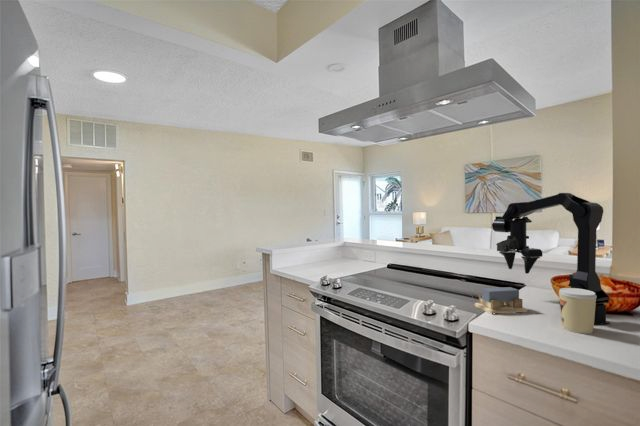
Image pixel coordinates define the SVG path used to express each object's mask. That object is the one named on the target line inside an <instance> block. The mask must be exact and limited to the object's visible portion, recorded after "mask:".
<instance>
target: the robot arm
mask: <svg viewBox="0 0 640 426" xmlns="http://www.w3.org/2000/svg"><path fill="white" fill-rule="evenodd" d="M558 206H561V207H563V208H564V209H565V210H566V211H567V212H569V213H571V214H572V219H573V220H572V221H573V223H574V224H575V226H576V228H577V254H576V255H577V260H576V262H577V263H576V264H577V265H576V271H575V273H572V274H569V275H568V280H569V284H568V287H569V288H578V289H585V290H589V291H592V292H594V293H595V294H596V296H597V298H596V306H595V318H594V326H596V325H608V324H611V322H610V321H608V320H607V305H606V304H608V303H609V302H610V300H611V297H610V296H609V294H607V293H606V291H605V290H604V289H603V288H602V284H601V280H600V277H599V276H598V273H597V272H596V262H597V261H596V260H597V259H596V256H597V229H598V227H599V225H600V224H601V222H602V219H603V215H604V208H603V206H602V205H601V204H599V203H597V202H592V201H589V200H586V199H584V198H582V197H579V196H576V195H574V194H573V193H570V192H559V193H557V194H554V195H551V196H546V197H541V198H539V199H535V200H531V201H523V202H522V201H521V202H510V204H508V206H507V209H506V210H505V212H504V213H503V215H502V216H501V215H500V216H499V215H498V216H497V215H496V216H495V219H494V220H493V221H492V224H491V228H492V230H493V231H494V232H497V233H509V235H507V237H506V239H505V240H502V241H500V242H497V243H496V251H497V252H499V254H501V256H503V257H504V260H505V263H506V264H507V267H508V269H509V270H512V269H513V266H514V263H515V258H516V257H515V256H516V254H517V253H518V254H521V255H522V256H521V258H522V260H523V262H524V265H523V266H524V274H529V273H530V271H531V270H532V268H533V266H534V265H535V263H536V262H537V260H538V259H541V257H543V251H542V249H541V248H534V247H530V246H529V245H527V239H530V236H528V235H527V224H528V223H532V222H533V221H532V220H531V219H529V217H528V216H529V215H532V214H533V213H534V212H537V211H541V210H546V209H550V208H553V207H554V208H555V207H558Z"/></svg>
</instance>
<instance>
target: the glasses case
mask: <svg viewBox="0 0 640 426" xmlns="http://www.w3.org/2000/svg"><path fill="white" fill-rule="evenodd" d="M481 295H482V299H483V300H485V301H487V302H491V300H500V302H505V301H513V299H520V290H519V289H517V288H514V287H511V286H508V287H507V286H506V287H504V286H503V287H489V288H487V287H486V288H485V287H484V288H481Z"/></svg>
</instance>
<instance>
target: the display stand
mask: <svg viewBox="0 0 640 426" xmlns="http://www.w3.org/2000/svg"><path fill="white" fill-rule="evenodd" d="M474 306H475V307H476V308H479V309H481V310H482V311H483V312H486V313H488V312H490V313H506V314H514V313H513V312H522V313H527V312H528V308H526V307H523V298H519V299H513V301H505V302H500V300H491V302H487V301H485V300H483V299H482V294H478V302H474ZM490 313H489V314H490Z"/></svg>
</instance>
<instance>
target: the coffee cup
mask: <svg viewBox="0 0 640 426" xmlns="http://www.w3.org/2000/svg"><path fill="white" fill-rule="evenodd" d="M558 294H559V295H558V296H559V309H560V310H559V311H560V319H561V320H560V321H561V327H562V328H563V330H567V331H569V332H572V333H576V334H584V335H585V334H587V335H590V334H592V333H593V332H594V329H595V325H594V318H595V306H596V298H597V296H596V294H595V293H594V292H592V291H589V290H585V289H578V288H570V287H561V288H559V290H558ZM593 334H594V333H593Z"/></svg>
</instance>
